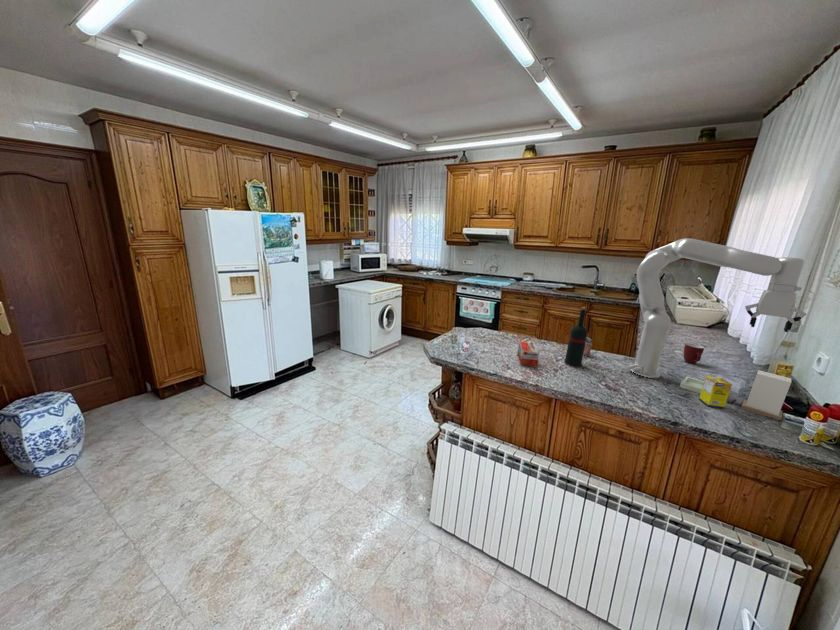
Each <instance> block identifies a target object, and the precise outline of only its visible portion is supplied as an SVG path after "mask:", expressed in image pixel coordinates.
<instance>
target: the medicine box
mask: <svg viewBox="0 0 840 630" xmlns="http://www.w3.org/2000/svg"><path fill="white" fill-rule="evenodd" d="M518 342H519V343H518V348H517V349H518V350H517V357H518V361H519V365H520V366H524V367H525V366H526V367H527V366H528V367H529V366H530V367H534V368H537V367H538V363H539V356H540V351H539V349H538V347H537V345H536V343H535V342H531V341H530V342H529V341H521V340H520V341H519V340H518Z"/></svg>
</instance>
